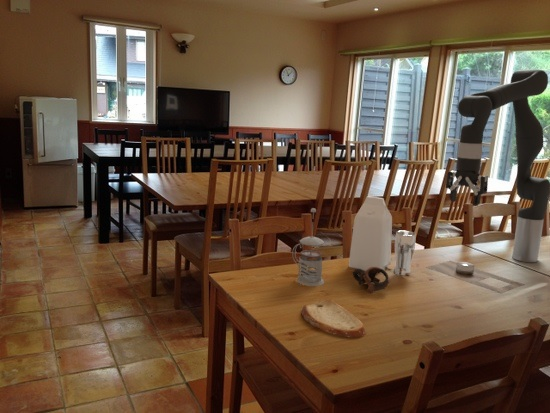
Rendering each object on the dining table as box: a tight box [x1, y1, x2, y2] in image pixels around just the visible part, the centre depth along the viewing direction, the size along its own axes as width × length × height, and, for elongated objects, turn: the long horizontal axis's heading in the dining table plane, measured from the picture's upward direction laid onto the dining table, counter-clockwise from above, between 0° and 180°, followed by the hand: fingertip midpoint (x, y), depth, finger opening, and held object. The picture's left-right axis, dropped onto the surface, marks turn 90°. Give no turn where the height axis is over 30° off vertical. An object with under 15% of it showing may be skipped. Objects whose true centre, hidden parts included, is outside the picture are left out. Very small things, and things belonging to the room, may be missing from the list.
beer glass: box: [393, 230, 417, 277], centre depth 174 cm, size 7×7×15 cm
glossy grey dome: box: [456, 261, 475, 275], centre depth 175 cm, size 6×6×3 cm
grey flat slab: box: [425, 260, 525, 294], centre depth 173 cm, size 15×29×1 cm, turn 36°
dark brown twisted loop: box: [352, 267, 390, 294], centre depth 160 cm, size 12×10×8 cm
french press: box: [291, 207, 325, 287], centre depth 163 cm, size 10×12×25 cm
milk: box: [348, 195, 393, 274], centre depth 180 cm, size 12×12×26 cm
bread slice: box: [301, 299, 367, 338], centre depth 135 cm, size 18×18×4 cm
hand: (464, 203), depth 169 cm, fingers open, 8 cm apart
